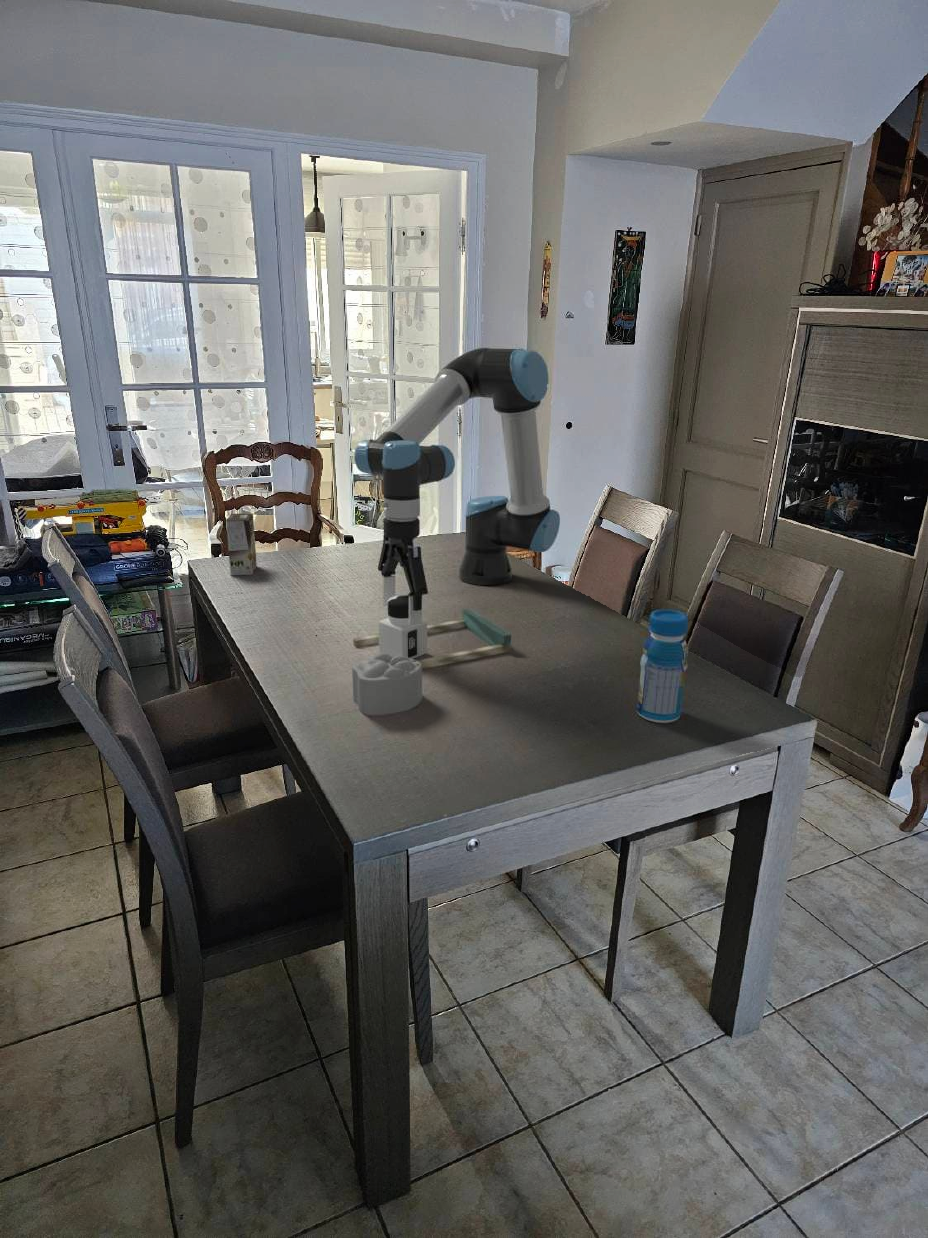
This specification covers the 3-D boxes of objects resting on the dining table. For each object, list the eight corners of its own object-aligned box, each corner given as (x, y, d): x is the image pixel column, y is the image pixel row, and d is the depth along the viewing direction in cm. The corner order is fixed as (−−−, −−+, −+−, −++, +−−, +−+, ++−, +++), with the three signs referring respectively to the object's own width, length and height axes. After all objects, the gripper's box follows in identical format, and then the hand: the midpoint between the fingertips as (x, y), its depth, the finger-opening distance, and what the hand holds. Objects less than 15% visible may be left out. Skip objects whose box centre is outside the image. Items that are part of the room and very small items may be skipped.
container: (427, 653, 176) (427, 598, 172) (402, 663, 171) (401, 606, 166) (404, 644, 181) (403, 589, 177) (378, 653, 176) (377, 597, 171)
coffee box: (253, 575, 227) (248, 520, 222) (230, 575, 226) (225, 520, 221) (257, 566, 236) (253, 512, 230) (235, 566, 235) (230, 512, 229)
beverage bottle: (653, 728, 146) (664, 626, 138) (626, 708, 153) (636, 610, 146) (690, 720, 149) (703, 619, 142) (662, 701, 156) (673, 604, 149)
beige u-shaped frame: (469, 623, 194) (469, 608, 192) (510, 651, 178) (511, 634, 177) (353, 644, 180) (352, 628, 179) (386, 676, 165) (386, 658, 163)
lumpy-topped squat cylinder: (349, 695, 156) (348, 654, 153) (412, 685, 161) (412, 645, 158) (364, 718, 147) (363, 675, 144) (430, 707, 152) (430, 665, 149)
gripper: (362, 507, 174) (364, 599, 181) (410, 532, 153) (410, 635, 161) (393, 504, 177) (394, 595, 184) (445, 528, 157) (443, 629, 164)
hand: (401, 614), depth 173 cm, fingers open, 13 cm apart
